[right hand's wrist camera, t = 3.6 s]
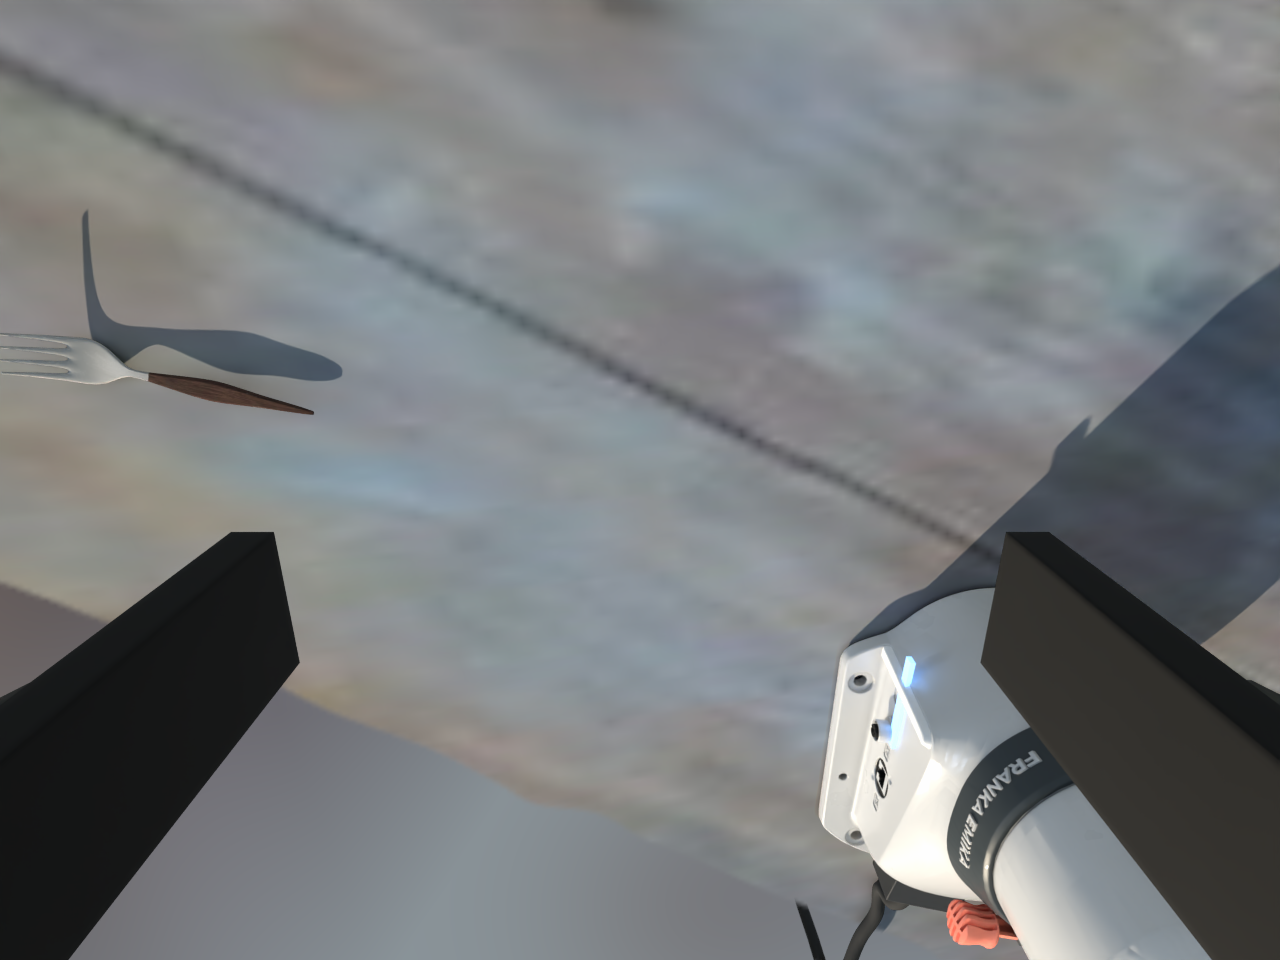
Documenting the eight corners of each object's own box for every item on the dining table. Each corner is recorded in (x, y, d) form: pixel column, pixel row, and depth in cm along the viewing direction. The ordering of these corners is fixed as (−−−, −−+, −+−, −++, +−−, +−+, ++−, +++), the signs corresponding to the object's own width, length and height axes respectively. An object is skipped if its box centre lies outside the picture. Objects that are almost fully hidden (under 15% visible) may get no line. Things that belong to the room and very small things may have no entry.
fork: (316, 432, 40) (300, 442, 39) (30, 370, 39) (0, 377, 37) (319, 389, 40) (303, 397, 38) (28, 324, 38) (-4, 329, 36)
